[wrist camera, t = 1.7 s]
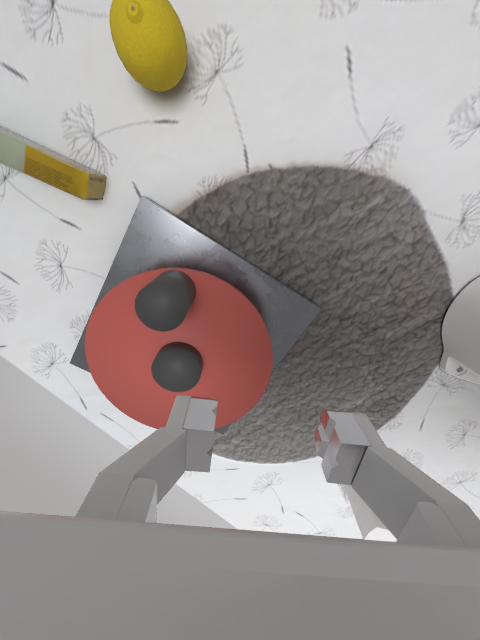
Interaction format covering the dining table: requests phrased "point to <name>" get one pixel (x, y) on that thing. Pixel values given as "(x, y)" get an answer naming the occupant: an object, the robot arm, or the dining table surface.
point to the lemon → (149, 41)
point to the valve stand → (213, 258)
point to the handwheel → (178, 345)
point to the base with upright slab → (366, 517)
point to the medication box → (50, 166)
